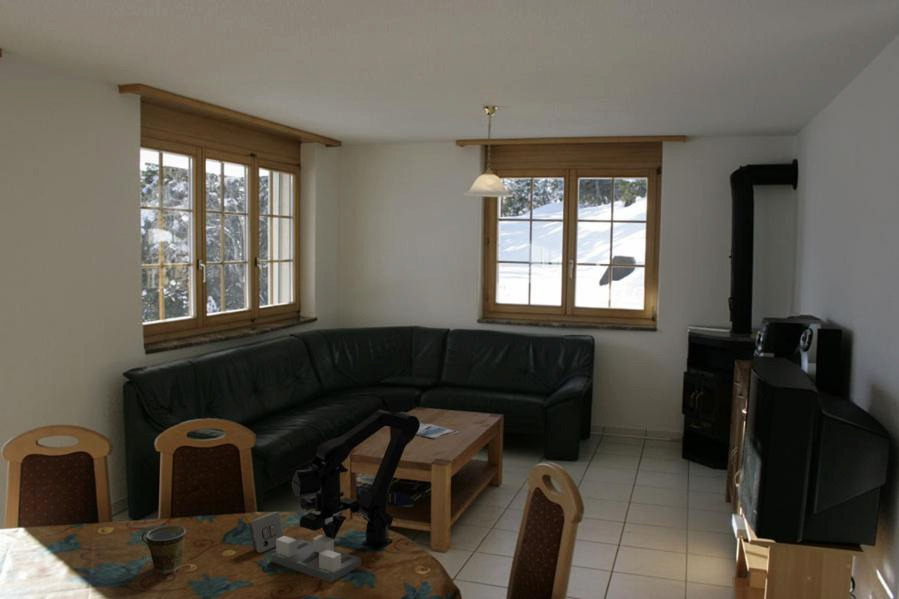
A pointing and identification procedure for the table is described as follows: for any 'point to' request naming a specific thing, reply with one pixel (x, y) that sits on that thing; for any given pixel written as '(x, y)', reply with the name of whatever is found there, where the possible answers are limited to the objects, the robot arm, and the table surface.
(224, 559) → the table surface
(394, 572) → the table surface
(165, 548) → the ceramic cup
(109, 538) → the table surface
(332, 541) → the handle
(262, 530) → the electrical switch
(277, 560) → the breaker panel
